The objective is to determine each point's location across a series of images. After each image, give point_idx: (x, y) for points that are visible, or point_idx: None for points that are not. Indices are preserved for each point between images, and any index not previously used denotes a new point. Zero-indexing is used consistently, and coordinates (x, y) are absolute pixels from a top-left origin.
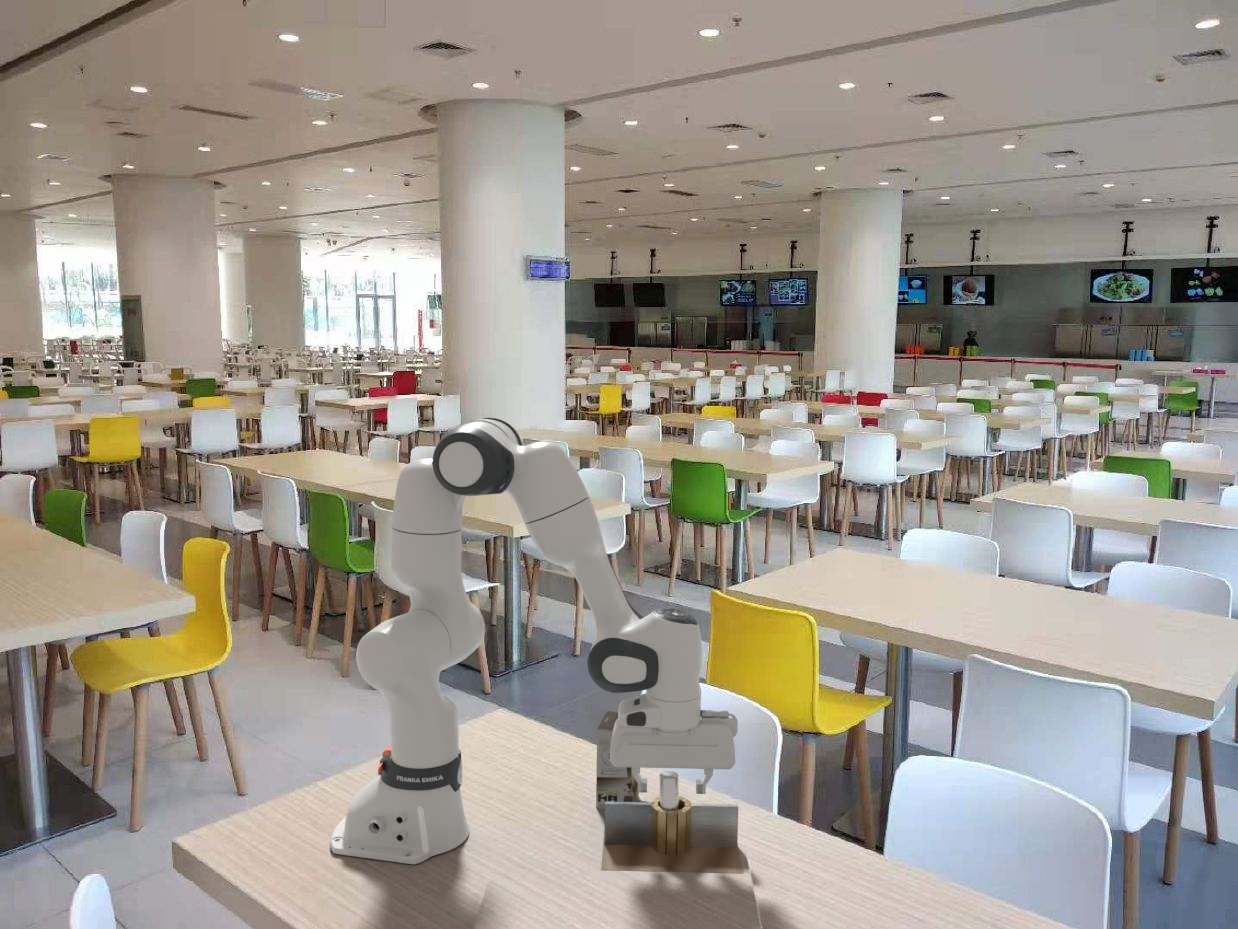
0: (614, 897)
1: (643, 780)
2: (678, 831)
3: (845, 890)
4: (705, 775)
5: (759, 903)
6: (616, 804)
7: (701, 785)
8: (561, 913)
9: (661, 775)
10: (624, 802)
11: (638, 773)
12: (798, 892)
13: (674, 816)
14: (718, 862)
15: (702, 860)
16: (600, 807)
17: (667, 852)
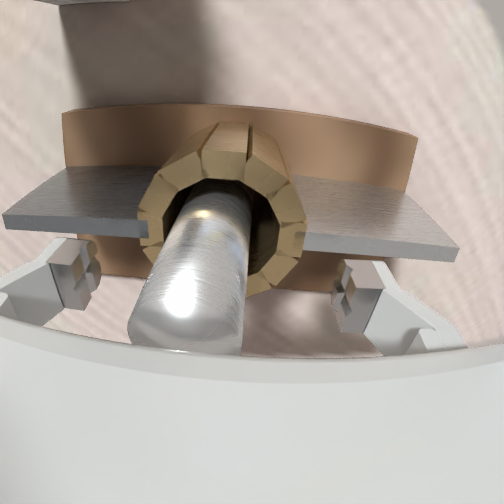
0: (126, 307)
1: (61, 285)
2: None
3: (484, 296)
4: (401, 341)
5: None
6: (31, 229)
7: (360, 330)
8: (69, 329)
9: (138, 338)
10: (48, 220)
11: (24, 301)
12: (432, 303)
13: None
14: (336, 258)
15: (302, 250)
16: (53, 1)
17: None
